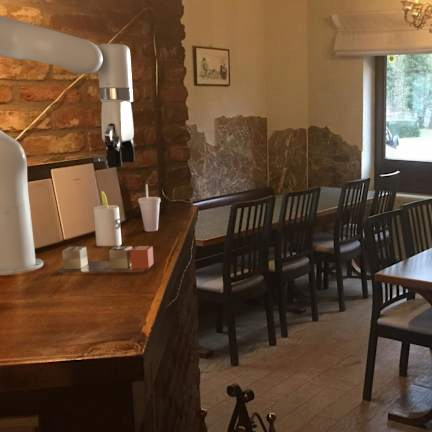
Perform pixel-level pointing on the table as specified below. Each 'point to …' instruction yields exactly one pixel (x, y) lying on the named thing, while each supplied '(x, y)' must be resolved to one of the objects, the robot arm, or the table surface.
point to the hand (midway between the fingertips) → (121, 164)
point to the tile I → (74, 257)
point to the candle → (107, 224)
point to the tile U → (120, 257)
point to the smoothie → (149, 211)
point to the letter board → (101, 268)
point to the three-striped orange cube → (142, 257)
